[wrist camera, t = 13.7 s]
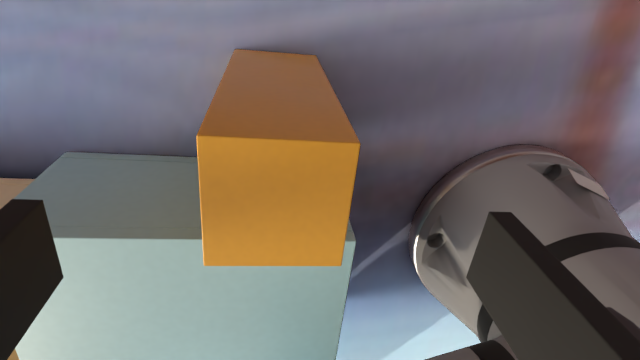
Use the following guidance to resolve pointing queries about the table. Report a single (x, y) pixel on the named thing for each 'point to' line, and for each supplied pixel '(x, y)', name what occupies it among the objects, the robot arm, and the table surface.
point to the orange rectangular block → (275, 165)
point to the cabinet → (166, 274)
